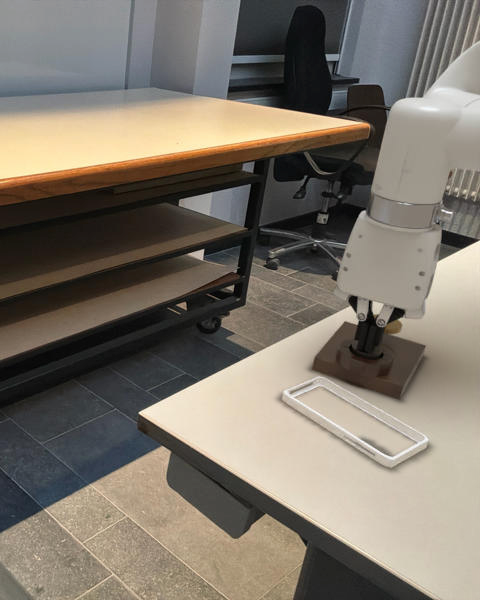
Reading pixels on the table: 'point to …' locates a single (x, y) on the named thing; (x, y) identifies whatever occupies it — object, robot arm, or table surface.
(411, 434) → the phone case
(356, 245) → the robot arm
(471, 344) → the table surface
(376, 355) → the lamp switch
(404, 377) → the lamp base
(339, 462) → the table surface
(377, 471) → the table surface
